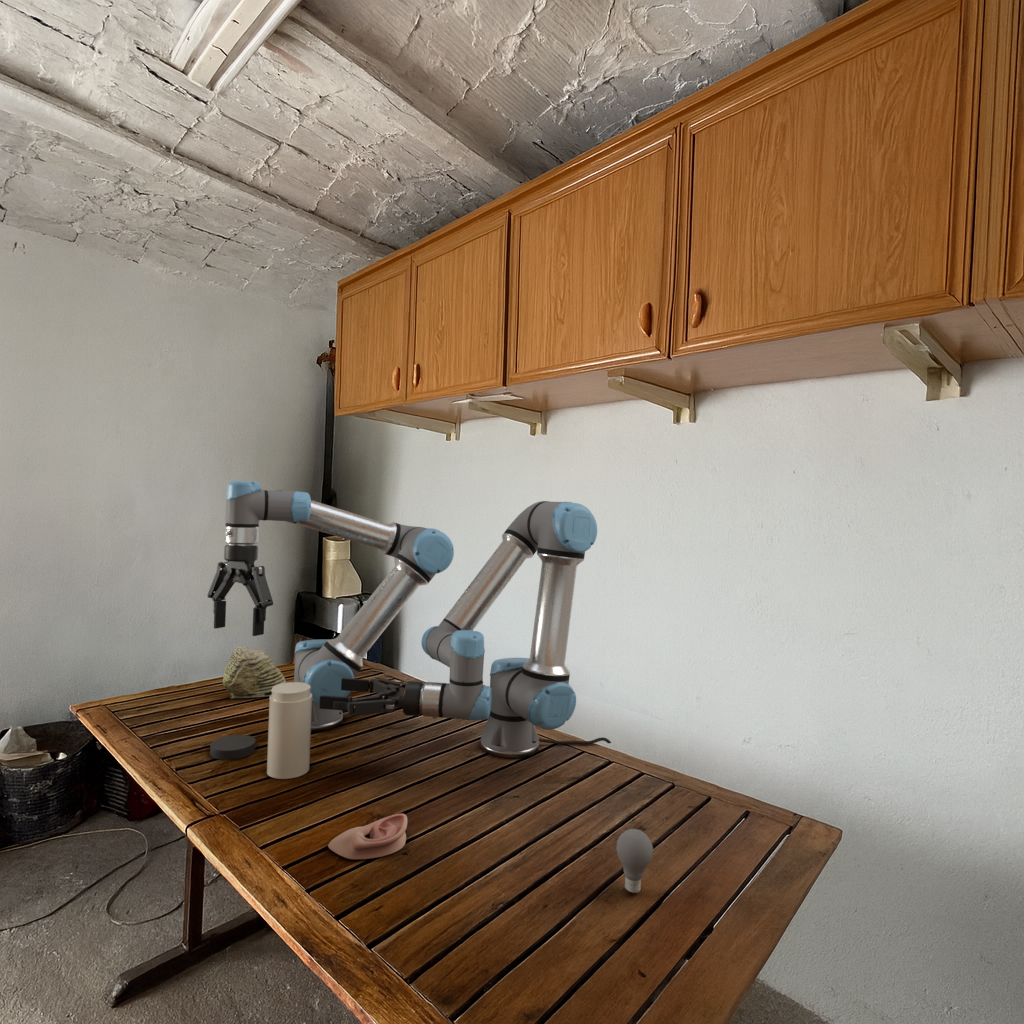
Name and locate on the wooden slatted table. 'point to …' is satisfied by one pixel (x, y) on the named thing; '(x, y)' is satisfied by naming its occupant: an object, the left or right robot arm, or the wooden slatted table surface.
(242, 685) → the fossil
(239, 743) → the lid
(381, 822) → the anatomical model
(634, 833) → the light bulb
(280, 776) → the jar
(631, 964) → the wooden slatted table surface
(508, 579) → the right robot arm
